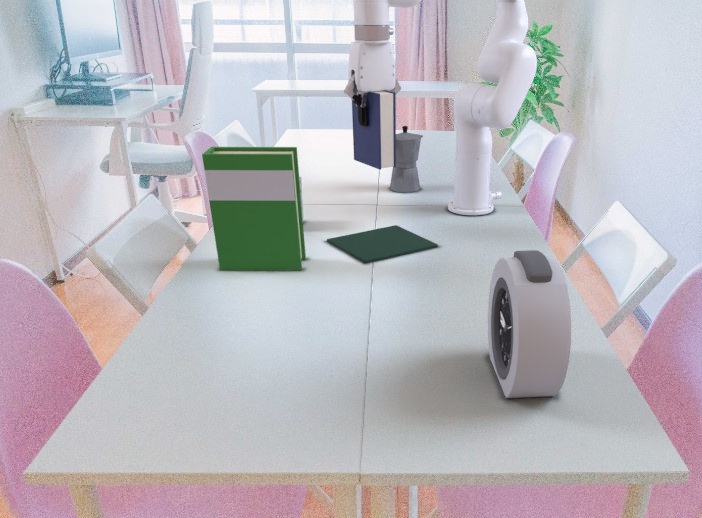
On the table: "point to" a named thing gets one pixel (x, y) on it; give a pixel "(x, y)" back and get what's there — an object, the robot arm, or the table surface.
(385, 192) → the table surface
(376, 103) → the navy book
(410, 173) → the coffeepot
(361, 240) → the desk pad
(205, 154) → the hardback book
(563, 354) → the alarm clock
